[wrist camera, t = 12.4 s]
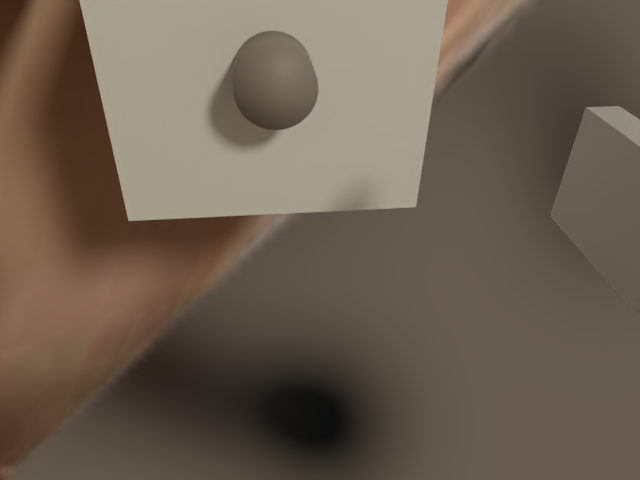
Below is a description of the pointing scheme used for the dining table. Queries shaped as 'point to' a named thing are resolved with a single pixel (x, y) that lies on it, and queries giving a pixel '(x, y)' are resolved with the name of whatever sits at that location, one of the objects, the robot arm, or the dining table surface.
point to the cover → (265, 102)
